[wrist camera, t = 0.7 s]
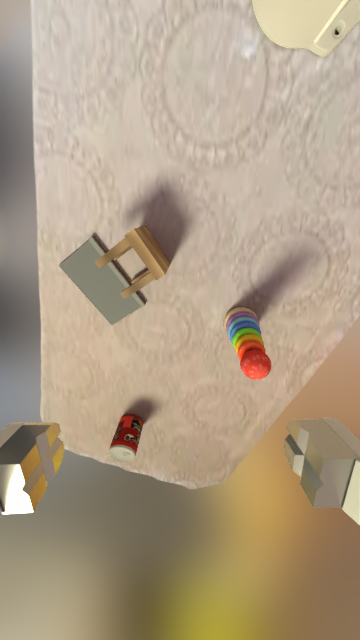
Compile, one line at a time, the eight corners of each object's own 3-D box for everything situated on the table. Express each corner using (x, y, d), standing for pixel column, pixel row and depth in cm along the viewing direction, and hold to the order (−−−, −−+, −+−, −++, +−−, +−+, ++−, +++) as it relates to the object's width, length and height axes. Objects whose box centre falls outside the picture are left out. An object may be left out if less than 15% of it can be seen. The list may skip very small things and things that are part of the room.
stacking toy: (234, 300, 48) (256, 345, 31) (263, 314, 49) (298, 366, 32) (217, 326, 51) (227, 379, 35) (244, 339, 52) (267, 397, 36)
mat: (93, 236, 43) (91, 237, 42) (145, 303, 50) (144, 305, 49) (59, 265, 47) (57, 266, 46) (112, 324, 53) (110, 326, 52)
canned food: (145, 428, 71) (138, 461, 61) (124, 429, 72) (113, 462, 62) (140, 413, 68) (130, 446, 58) (117, 414, 69) (104, 447, 59)
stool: (145, 226, 42) (133, 228, 34) (170, 263, 45) (165, 274, 37) (111, 252, 45) (93, 260, 37) (137, 286, 48) (125, 300, 40)
